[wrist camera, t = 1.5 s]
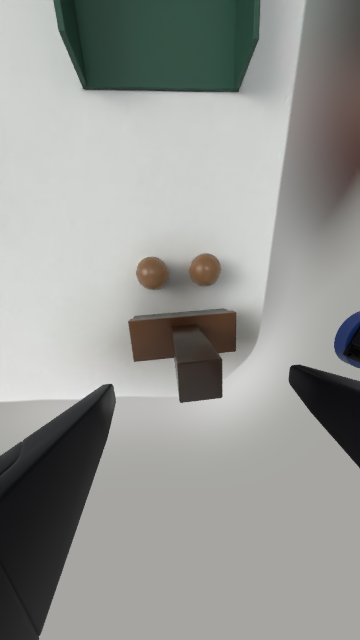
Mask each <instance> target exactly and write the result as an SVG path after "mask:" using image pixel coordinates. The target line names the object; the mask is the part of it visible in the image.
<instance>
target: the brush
mask: <svg viewBox="0 0 360 640" xmlns="http://www.w3.org/2000/svg"><path fill="white" fill-rule="evenodd" d="M128 323H129V330H130V337H131V344H132V351H133V358H134V362H136V361H146V360H156V359H166V358H174V360H175V368H176V376H177V384H178V392H179V400H180V402H181V403H183V402H190V401H199V400H207V399H215V398H222V358H221V357H220V355H219V354H218V353H225V352H235V351H236V312H234V311H228V310H226V309H215V310H203V311H190V312H178V313H166V314H153V315H141V316H134V318H133V319H130V320H129V322H128Z"/></svg>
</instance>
